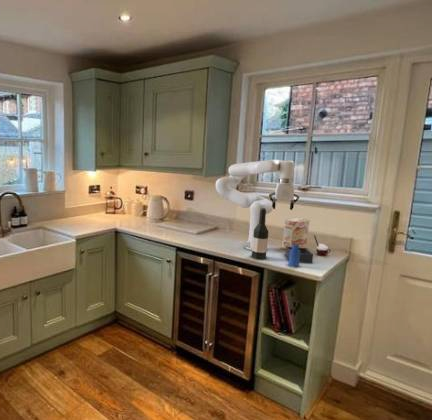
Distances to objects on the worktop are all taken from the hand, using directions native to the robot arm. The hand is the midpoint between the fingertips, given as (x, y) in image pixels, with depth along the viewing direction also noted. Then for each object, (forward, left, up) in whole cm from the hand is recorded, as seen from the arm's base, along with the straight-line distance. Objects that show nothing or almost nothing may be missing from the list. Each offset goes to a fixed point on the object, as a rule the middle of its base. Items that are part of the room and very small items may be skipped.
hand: (282, 209), depth 219 cm
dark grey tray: (+10, -7, -28) cm, 31 cm away
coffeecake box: (+13, +16, -28) cm, 35 cm away
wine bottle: (-13, -12, -28) cm, 34 cm away
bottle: (+4, -22, -28) cm, 36 cm away
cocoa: (+26, +6, -28) cm, 39 cm away
